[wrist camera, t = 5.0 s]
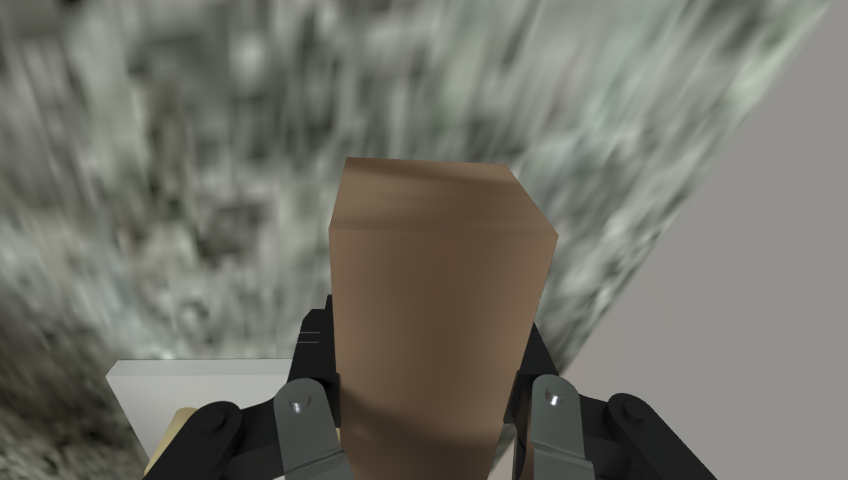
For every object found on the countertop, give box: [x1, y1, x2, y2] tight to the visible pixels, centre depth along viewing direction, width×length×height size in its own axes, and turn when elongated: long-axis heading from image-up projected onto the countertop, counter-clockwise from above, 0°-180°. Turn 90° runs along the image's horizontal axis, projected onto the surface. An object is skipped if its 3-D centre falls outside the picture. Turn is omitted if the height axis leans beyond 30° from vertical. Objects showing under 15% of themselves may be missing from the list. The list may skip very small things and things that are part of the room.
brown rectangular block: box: [329, 157, 559, 480], centre depth 13 cm, size 5×11×4 cm, turn 175°
